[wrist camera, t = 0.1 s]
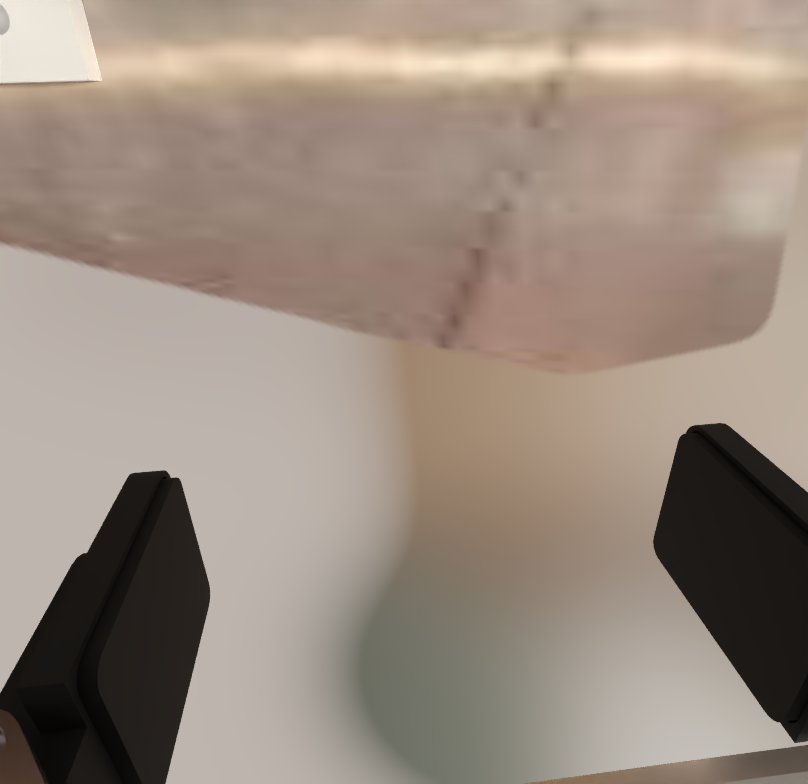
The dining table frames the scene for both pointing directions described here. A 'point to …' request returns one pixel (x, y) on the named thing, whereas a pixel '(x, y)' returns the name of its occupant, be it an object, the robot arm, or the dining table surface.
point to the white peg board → (45, 42)
